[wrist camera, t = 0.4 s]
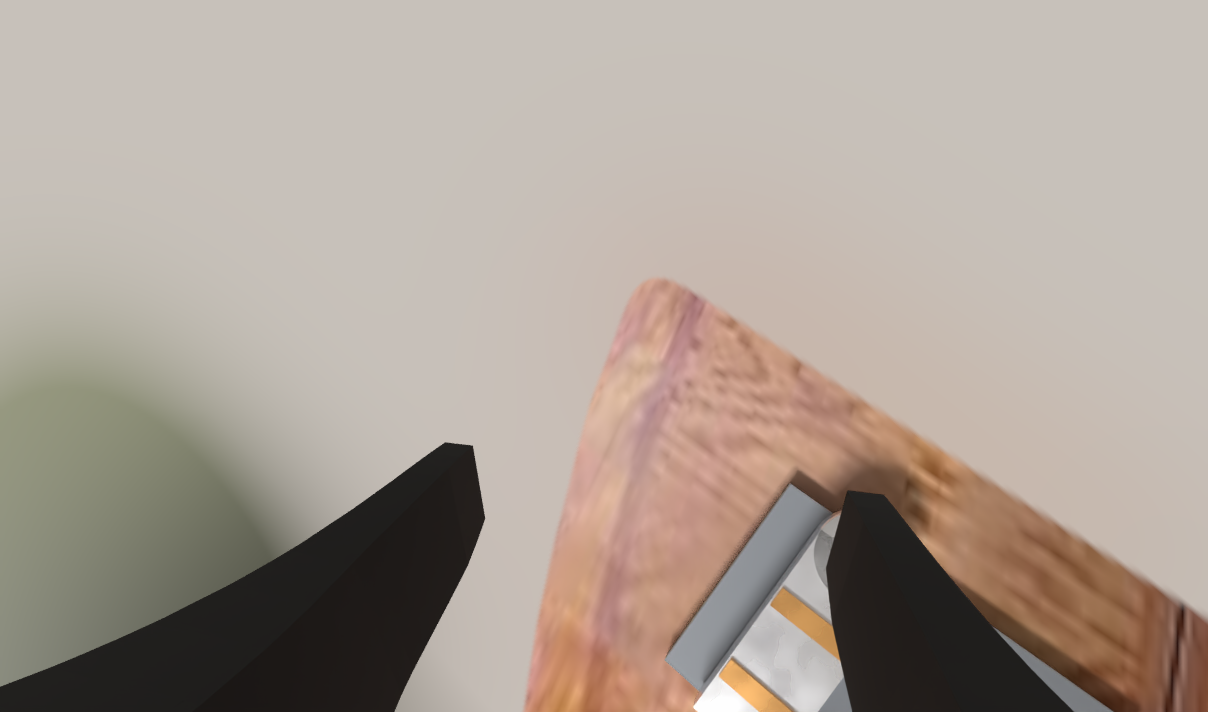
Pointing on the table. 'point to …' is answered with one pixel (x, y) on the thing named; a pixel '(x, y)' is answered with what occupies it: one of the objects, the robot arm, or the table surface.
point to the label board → (759, 576)
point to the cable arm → (783, 643)
